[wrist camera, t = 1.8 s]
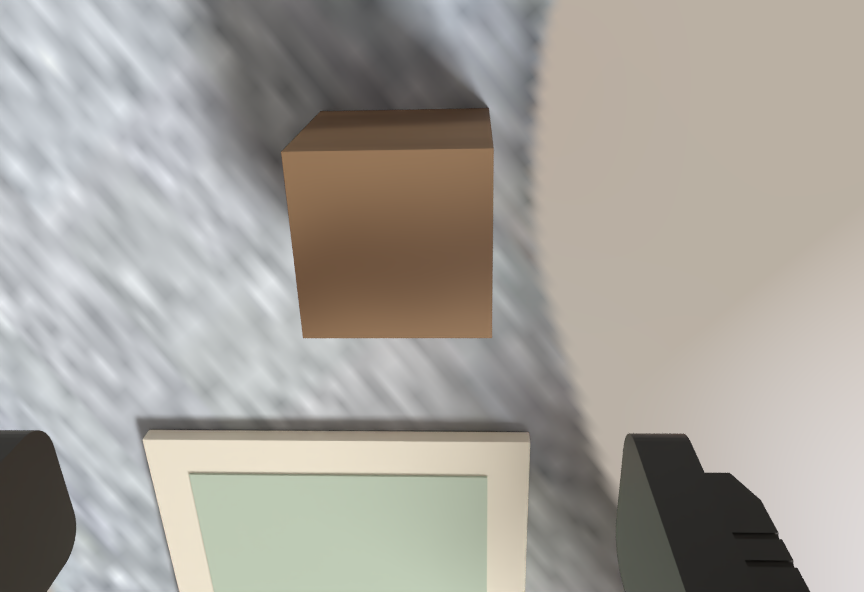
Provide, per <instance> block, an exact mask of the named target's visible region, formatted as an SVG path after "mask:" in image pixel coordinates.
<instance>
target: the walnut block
mask: <svg viewBox="0 0 864 592" xmlns="http://www.w3.org/2000/svg"><path fill="white" fill-rule="evenodd" d="M493 154H494V148H493V140H492V131H491V122H490V114H489V108H469V109H416V110H363V111H320V112H319V113H318V114H317V115H316V116H315V117H314V118H313V119H312V121H311V122H310V123H309V124H308V125H307V126H306V127H305V128H304V129H303V130H302V131H301V132H300V133H299V134H298V135H297V136H296V137H295V138H294V139H293V140H292V141H291V142H290V143H289V144H288V145H287V146H286V147H285V148H284V149H283V150H282V151H281V155H282V164H283V172H284V181H285V189H286V198H287V206H288V215H289V223H290V232H291V240H292V249H293V257H294V265H295V274H296V282H297V291H298V299H299V308H300V316H301V325H302V333H303V338H492V271H493Z"/></svg>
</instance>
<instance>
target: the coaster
mask: <svg viewBox="0 0 864 592" xmlns="http://www.w3.org/2000/svg"><path fill="white" fill-rule="evenodd" d="M143 444H144V448H145V452H146V456H147V460H148V464H149V468H150V472H151V477H152V481H153V485H154V489H155V493H156V497H157V501H158V506H159V510H160V514H161V518H162V522H163V526H164V530H165V534H166V539H167V543H168V547H169V551H170V555H171V559H172V563H173V567H174V572H175V576H176V580H177V584H178V588H179V592H525V573H526V546H527V518H528V490H529V462H530V437H529V432H410V431H250V430H149V431H148V432H147V434H146V435H145V437H144V438H143Z"/></svg>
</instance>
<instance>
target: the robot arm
mask: <svg viewBox="0 0 864 592" xmlns="http://www.w3.org/2000/svg"><path fill="white" fill-rule="evenodd" d="M75 535H76V518H75V514H74V510H73V507H72V504H71V500H70V497H69V494H68V491H67V487H66V484H65V481H64V478H63V474H62V471H61V468H60V465H59V461H58V458H57V455H56V452H55V448H54V445H53V443H52V440H51V439H50V437H49V436H48V435H47V434H46V433H45V432H43V431H40V430H0V592H47V590H48V589H49V587H50V586H51V585H52V583H53V582H54V580H55V579H56V577H57V576H58V574H59V573H60V571H61V570H62V568H63V567H64V565H65V564H66V562H67V560H68V558H69V556H70V554H71V551H72V549H73V545H74V541H75ZM616 547H617V557H618V564H619V569H620V574H621V578H622V582H623V586H624V590H625V592H810V591H809V589H808V587H807V585H806V583H805V581H804V579H803V578H802V576H801V574H800V572H799V570H798V568H794V565H793V559H792V557H791V555H790V553H789V552H788V550H787V548H786V546H785V544H784V542H783V540H782V539H779V537H778V531H777V529H776V527H775V526H774V524H773V522H772V520H771V518H770V516H769V514H768V513H767V511H766V509H765V507H764V505H763V503H762V502H761V500H760V499H759V498H758V497H757V496H755V495H754V494H753V493H752V492H751V491H750V490H749V489H747V488H746V487H745V486H744V485H743V484H742V483H741V482H739V481H738V480H737V479H736V478H735V477H734V476H733V475H732V474H730V473H704V470H703V468H702V466H701V464H700V462H699V459H698V457H697V455H696V453H695V451H694V449H693V446H692V444H691V442H690V440H689V438H688V437H687V436H686V435H685V434H627V436H626V438H625V442H624V448H623V458H622V468H621V479H620V488H619V498H618V509H617V519H616Z"/></svg>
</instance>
